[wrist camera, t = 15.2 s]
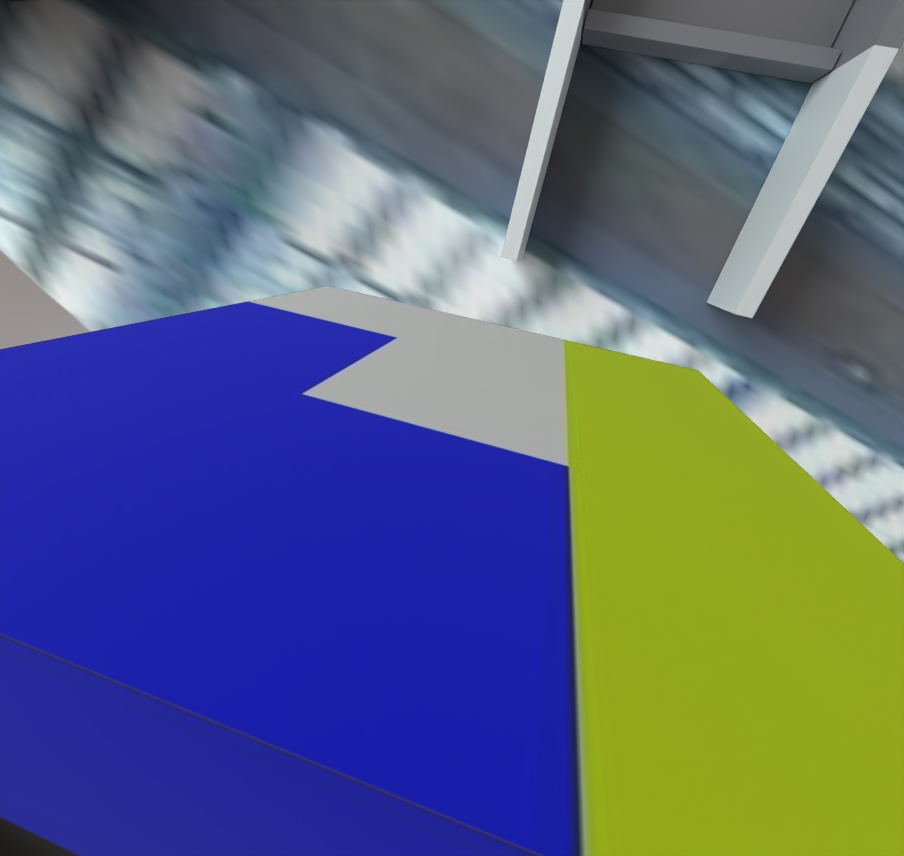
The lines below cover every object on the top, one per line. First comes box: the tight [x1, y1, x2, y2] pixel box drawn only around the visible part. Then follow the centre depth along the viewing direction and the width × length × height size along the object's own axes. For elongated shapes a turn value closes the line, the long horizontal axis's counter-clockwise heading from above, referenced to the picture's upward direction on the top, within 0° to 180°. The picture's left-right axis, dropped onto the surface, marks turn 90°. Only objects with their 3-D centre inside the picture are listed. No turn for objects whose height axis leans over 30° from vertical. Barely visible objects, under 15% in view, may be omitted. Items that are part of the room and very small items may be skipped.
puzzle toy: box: [0, 286, 904, 856], centre depth 9 cm, size 10×10×10 cm
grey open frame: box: [501, 0, 904, 318], centre depth 21 cm, size 22×15×5 cm
